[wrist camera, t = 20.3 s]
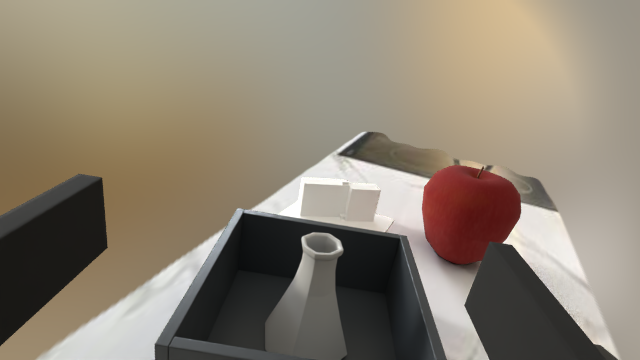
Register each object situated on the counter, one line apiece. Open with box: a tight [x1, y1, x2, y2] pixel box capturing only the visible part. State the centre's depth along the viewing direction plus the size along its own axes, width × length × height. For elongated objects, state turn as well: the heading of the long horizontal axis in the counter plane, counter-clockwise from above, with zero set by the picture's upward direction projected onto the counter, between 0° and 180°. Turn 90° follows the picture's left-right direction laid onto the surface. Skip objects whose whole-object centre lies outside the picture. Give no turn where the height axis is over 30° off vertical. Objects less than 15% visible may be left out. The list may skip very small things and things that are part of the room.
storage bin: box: [155, 208, 447, 360], centre depth 30 cm, size 18×18×8 cm
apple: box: [422, 165, 521, 265], centre depth 48 cm, size 12×12×13 cm
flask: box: [265, 232, 347, 360], centre depth 29 cm, size 7×7×10 cm
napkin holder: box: [279, 177, 394, 232], centre depth 54 cm, size 15×11×6 cm
